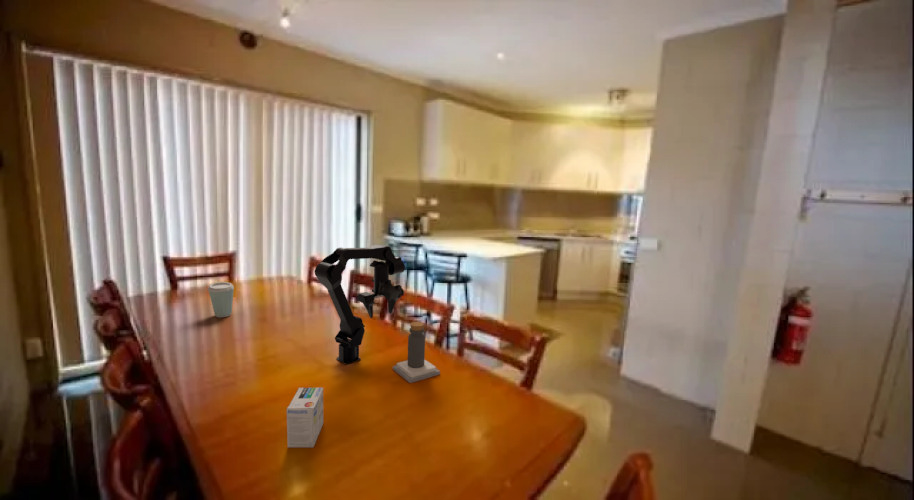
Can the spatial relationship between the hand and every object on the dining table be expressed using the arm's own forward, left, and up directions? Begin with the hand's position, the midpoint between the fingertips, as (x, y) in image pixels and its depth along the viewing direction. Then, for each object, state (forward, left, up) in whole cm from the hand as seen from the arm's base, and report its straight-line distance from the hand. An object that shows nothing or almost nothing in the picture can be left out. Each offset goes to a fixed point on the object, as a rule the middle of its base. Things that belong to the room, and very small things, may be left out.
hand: (380, 315), depth 165 cm
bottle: (-4, -25, -11) cm, 28 cm away
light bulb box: (-49, -34, -13) cm, 61 cm away
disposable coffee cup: (-33, +77, -13) cm, 85 cm away
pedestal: (-4, -26, -13) cm, 29 cm away
